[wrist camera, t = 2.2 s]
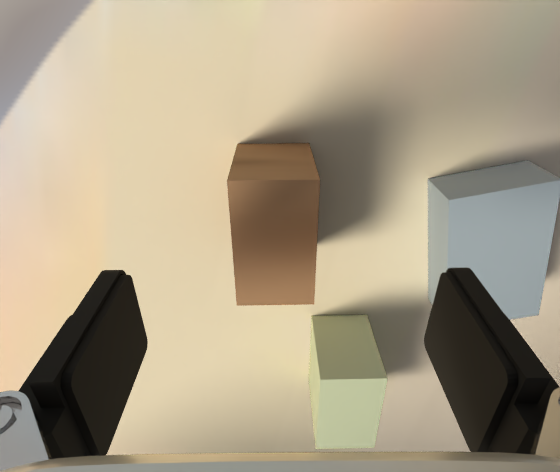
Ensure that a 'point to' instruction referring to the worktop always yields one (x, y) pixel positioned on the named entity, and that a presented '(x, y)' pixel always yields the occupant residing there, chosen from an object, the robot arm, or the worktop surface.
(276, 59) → the worktop surface
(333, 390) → the sage block
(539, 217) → the slate block
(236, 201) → the walnut block
